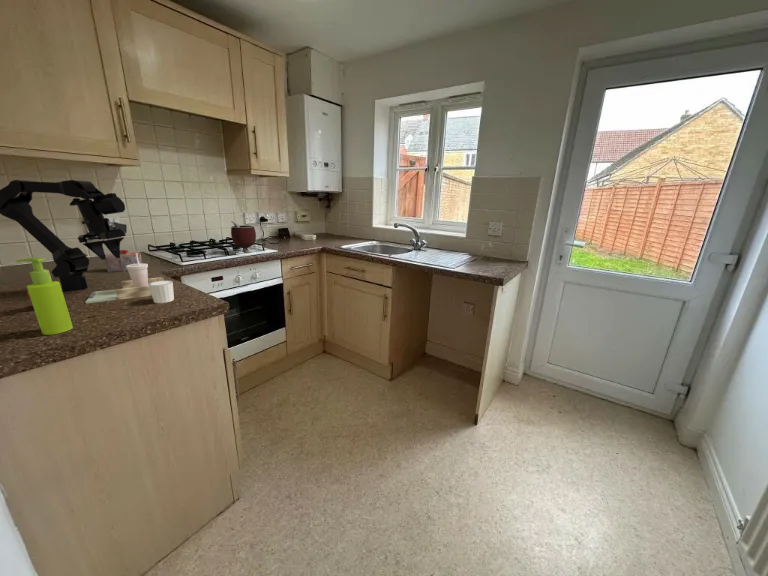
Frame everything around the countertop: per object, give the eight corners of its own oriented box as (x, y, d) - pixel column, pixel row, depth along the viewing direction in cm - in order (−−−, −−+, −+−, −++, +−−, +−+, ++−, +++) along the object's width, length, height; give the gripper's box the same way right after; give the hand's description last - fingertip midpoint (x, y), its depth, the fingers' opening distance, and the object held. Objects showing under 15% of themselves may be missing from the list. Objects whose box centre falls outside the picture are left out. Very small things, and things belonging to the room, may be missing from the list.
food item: (145, 266, 156) (140, 247, 153) (142, 270, 149) (138, 250, 146) (110, 269, 149) (105, 249, 146) (106, 273, 142) (101, 252, 140)
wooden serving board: (118, 301, 107) (115, 290, 106) (123, 291, 117) (121, 281, 116) (163, 295, 113) (161, 285, 112) (165, 286, 124) (163, 277, 123)
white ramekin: (180, 300, 109) (177, 281, 107) (161, 306, 103) (157, 286, 101) (166, 297, 111) (163, 279, 109) (147, 303, 105) (143, 284, 103)
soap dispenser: (52, 326, 86) (29, 256, 81) (78, 325, 87) (58, 256, 81) (31, 335, 81) (5, 260, 75) (59, 334, 81) (36, 260, 76)
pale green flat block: (86, 304, 102) (84, 300, 102) (94, 294, 113) (93, 290, 112) (117, 300, 107) (116, 296, 106) (122, 291, 117) (121, 287, 116)
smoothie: (148, 292, 113) (140, 254, 109) (127, 293, 111) (118, 255, 107) (156, 287, 119) (148, 251, 115) (136, 288, 117) (128, 252, 113)
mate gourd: (262, 252, 197) (259, 221, 192) (246, 256, 185) (242, 222, 179) (243, 251, 203) (240, 220, 197) (226, 254, 190) (222, 221, 184)
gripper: (132, 211, 114) (148, 252, 119) (104, 216, 121) (120, 255, 126) (97, 214, 104) (116, 259, 109) (68, 220, 112) (87, 262, 116)
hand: (111, 258), depth 115 cm, fingers open, 9 cm apart
